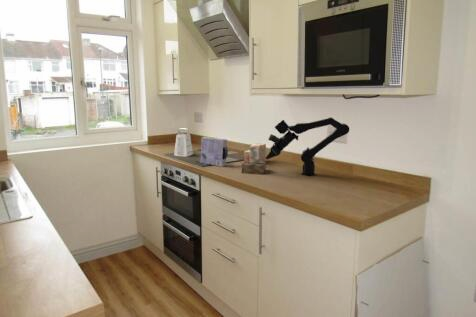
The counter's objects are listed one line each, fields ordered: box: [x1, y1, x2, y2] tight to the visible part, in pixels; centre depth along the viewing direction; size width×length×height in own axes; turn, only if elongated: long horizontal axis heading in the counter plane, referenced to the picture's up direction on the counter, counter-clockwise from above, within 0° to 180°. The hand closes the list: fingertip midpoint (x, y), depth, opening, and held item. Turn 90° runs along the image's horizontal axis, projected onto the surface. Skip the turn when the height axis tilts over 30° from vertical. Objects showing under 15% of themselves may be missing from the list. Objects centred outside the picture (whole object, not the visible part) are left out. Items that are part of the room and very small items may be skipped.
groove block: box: [241, 161, 267, 175], centre depth 212 cm, size 13×12×5 cm
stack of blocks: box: [243, 143, 267, 163], centre depth 236 cm, size 21×6×12 cm, turn 152°
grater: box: [173, 127, 194, 158], centre depth 261 cm, size 10×10×20 cm
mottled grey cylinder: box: [249, 146, 260, 164], centre depth 211 cm, size 5×4×14 cm
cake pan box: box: [200, 136, 229, 168], centre depth 228 cm, size 19×5×18 cm, turn 57°
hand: (267, 157), depth 209 cm, fingers open, 9 cm apart
